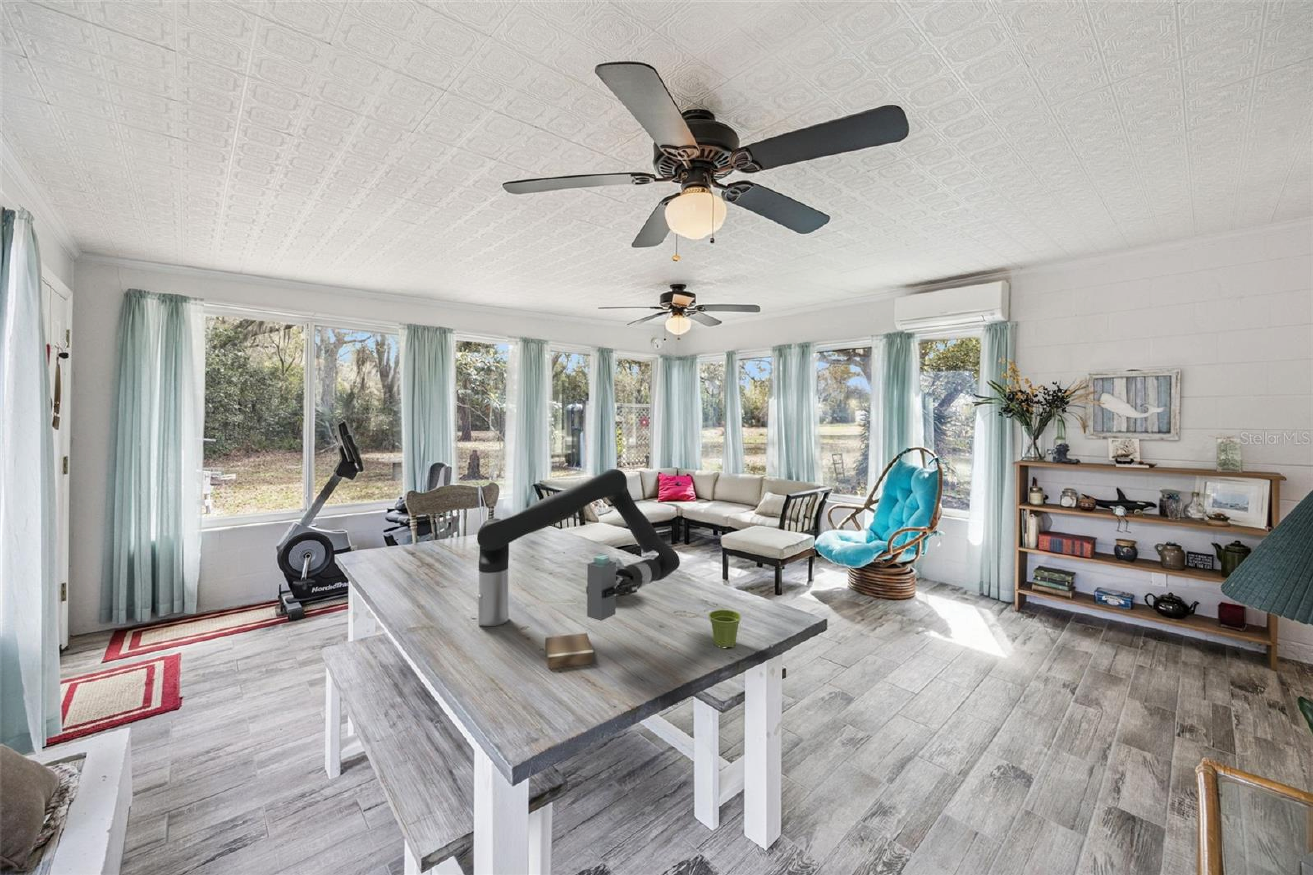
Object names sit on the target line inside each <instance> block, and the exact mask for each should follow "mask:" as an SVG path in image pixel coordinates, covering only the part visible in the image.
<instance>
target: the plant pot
mask: <svg viewBox="0 0 1313 875" xmlns="http://www.w3.org/2000/svg"><path fill="white" fill-rule="evenodd" d="M708 617H709V619H710V620H709V621H710V623H711V628H712V634H713V642H714V645H715V646H716V647H717V646H720V647H732V648H734V647H735V646H736V644H737V636H738V629H739V624H740V621H741V619H742V615H741V614H740V613H739V612H737V611H734V610H729V609H717V610H713V611H711V612H710V613H709V614H708ZM733 646H734V647H733Z"/></svg>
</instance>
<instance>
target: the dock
mask: <svg viewBox="0 0 1313 875" xmlns="http://www.w3.org/2000/svg"><path fill="white" fill-rule="evenodd" d="M588 635H589V634H588V633H587V632H585V633H576V634H567V635H566V634H565V635H557V636H547V637H545V640H544V641H545V646H544V647H545V654H546V660H547V663H546V664H547V668H548V670H550V669H558V668H565V667H566V668H567V667H568V668H569V667H575V666H581V665H582V666H583V665H591V664H594V661H595V659H594V657H595V656H594V655H595V653H594V652H595V651H594V650H593V647H592V644H591V641H590V638H589V636H588Z"/></svg>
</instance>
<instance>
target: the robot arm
mask: <svg viewBox="0 0 1313 875" xmlns="http://www.w3.org/2000/svg"><path fill="white" fill-rule="evenodd" d="M605 498H606V500H607V501H609V502H610V504H611V505H612V506H613V507H614V508H615V509H616V511H617V512H618V513H619V515H620V516H621V517H622V519H623V521H624V522H625V524H626V525H627V527H628V529H629V531H630V532H631V534H632V535H633V537H634V540H635V541H636V542H637V543H638V545H639V547H640V549H641V550H642V551H643V552H644V553H650V552H653V551H655V552H656V553H657V554H658V555H656V556H655V557H654V558H647V559H643V560H640V561H637V562H633V563H629V564H628V565H627V564H626V565H624V567H622V568H619V569H618V570H617V571H616V585H613V587H609V588H607V589H604V590H603V591H602V598H604V599H605V598H607V597H610V596H612V595H613V596H616V597H617V595H618V596H619V597H624V596H628V595H632V594H635V593H638V590H640V589H641V588H644V587H645V586H647V585H648V584H650V583H653V582H659V581H661V580H664V579H665V578H667V577H668V576H669V575H671V574H672V573H673V572H674V571H676V570H677V569H678V568H679V567H680V563H681V560H680V556H679V555H678V553H677V552H676V551H675V550H674V549H673V548H672V547H671V546H670V545H669V544H667V542H665V541H664V540H663V538H661V536H660V535H659V534H658V532H657V531H656V528H654V526H653V525H652V523H651V522H650V520H648V518H647V516H646V515H644V513H643V512H642V510H640V508H639V507H638V506H637V505H636V503H635V501H634V500H633V498H632V495H631V494H630V491H629V489H628V480H627V476H626V474H625V473H624V472H623V471H622V470H620V469H617V468H611V469H608V470H605V471H603V472H601V473H599V474H597V475H596V476H593V477H592V478H590V479H588V480H587V481H585V482H582V483H580V484H577V485H573V486H572V487H569V488H567V489H564V490H561V491H558V492H556V493H553V494H551V495H549V496H546V497H544V498H542V499H540V500H538V501H536V502H535V503H533V504H531V505H529V506H528V507H526V508H524V509H523V510H521V511H519V512H517V513H516V514H514V515H512V516H509V517H506V518H503V519H501V518H498V517H497V518H496V517H493V518H490V519H487V520H486V521H484V522H483V523H482V524H481V526H480V528H479V529H478V532H477V535H476V537H477V538H476V539H477V544H478V546H479V558H478V599H477V600H478V602H477V604H478V610H477V611H478V626H485V627H496V626H500V625H503V624H505V623H508V621H509V619H510V616H509V610H510V609H509V607H510V606H509V605H510V604H509V603H510V602H509V599H510V598H509V561H510V560H509V557H510V551H509V550H510V543H512V542H514V541H515V540H518V539H519V538H521V537H523V536H525V535H528V534H532V533H534V532H537V531H540V530H543V529H546V528H548V527H550V526H553V525H556V524H558V523H560V522H563V521H564V520H567V519H569V518H571V517H572V516H574V515H576V514H577V513H579V512H580V511H581V510H582V509H583V508H585V507H587V506H588V505H589V504H591V503H593V502H596V501H598V500H601V499H605ZM585 588H586V589H585V590H586V594H587V586H586V587H585Z"/></svg>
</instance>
